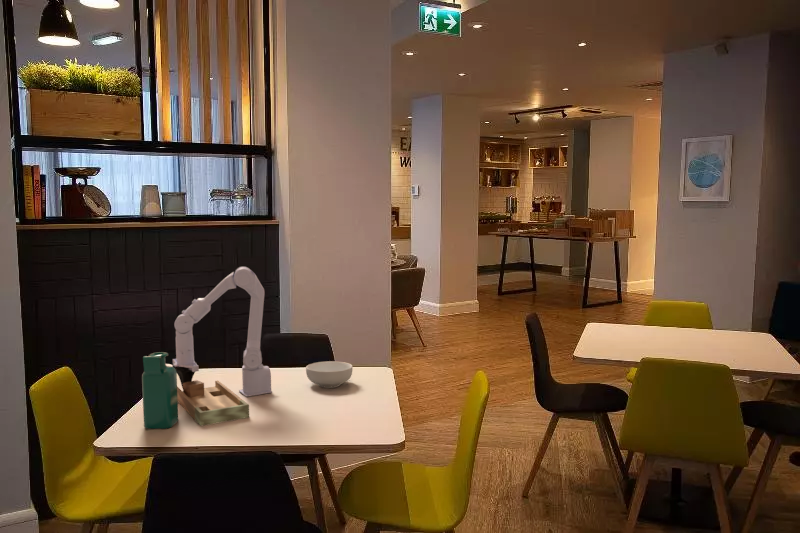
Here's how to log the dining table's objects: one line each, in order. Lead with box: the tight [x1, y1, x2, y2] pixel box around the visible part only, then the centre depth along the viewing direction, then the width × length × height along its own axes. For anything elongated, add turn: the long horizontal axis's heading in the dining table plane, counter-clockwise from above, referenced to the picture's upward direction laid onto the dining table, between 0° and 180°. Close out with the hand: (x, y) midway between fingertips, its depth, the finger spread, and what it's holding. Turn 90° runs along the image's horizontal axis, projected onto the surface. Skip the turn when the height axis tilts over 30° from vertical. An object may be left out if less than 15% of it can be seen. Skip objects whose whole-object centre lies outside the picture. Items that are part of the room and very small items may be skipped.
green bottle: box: [141, 351, 179, 430], centre depth 198 cm, size 10×8×22 cm
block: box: [182, 379, 205, 398], centre depth 224 cm, size 5×5×4 cm
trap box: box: [177, 380, 250, 427], centre depth 216 cm, size 15×33×4 cm, turn 31°
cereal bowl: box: [305, 360, 354, 389], centre depth 242 cm, size 17×17×7 cm
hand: (186, 388), depth 227 cm, fingers closed
